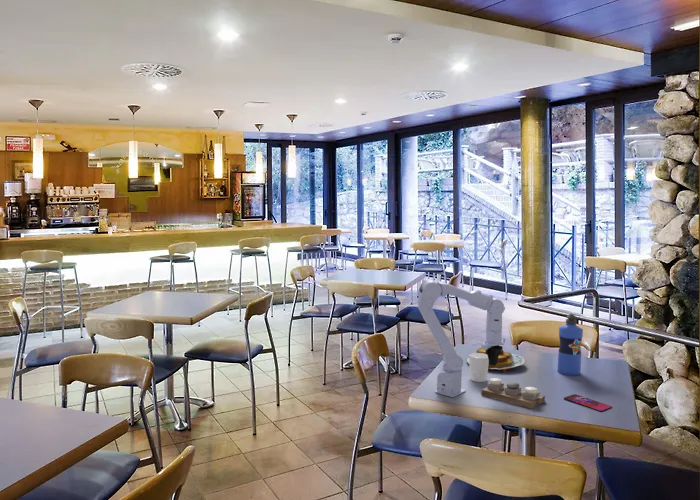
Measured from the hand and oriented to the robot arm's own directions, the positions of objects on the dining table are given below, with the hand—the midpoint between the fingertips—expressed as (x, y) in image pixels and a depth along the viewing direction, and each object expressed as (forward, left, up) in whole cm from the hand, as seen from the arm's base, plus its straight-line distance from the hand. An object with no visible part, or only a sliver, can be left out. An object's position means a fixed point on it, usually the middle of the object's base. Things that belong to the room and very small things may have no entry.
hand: (492, 364), depth 212 cm
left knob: (-1, -2, -8) cm, 9 cm away
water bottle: (+44, -12, -11) cm, 47 cm away
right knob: (-1, -16, -8) cm, 18 cm away
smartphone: (+13, -31, -11) cm, 35 cm away
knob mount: (-1, -9, -10) cm, 14 cm away
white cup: (+9, +11, -11) cm, 18 cm away
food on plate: (+33, +16, -11) cm, 38 cm away
